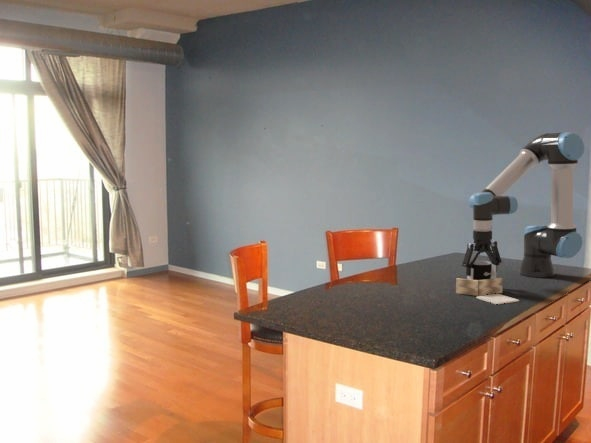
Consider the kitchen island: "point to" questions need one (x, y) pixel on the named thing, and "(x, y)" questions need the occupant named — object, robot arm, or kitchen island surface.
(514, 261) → the kitchen island surface
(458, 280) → the wooden boomerang
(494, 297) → the plate
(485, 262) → the mug
